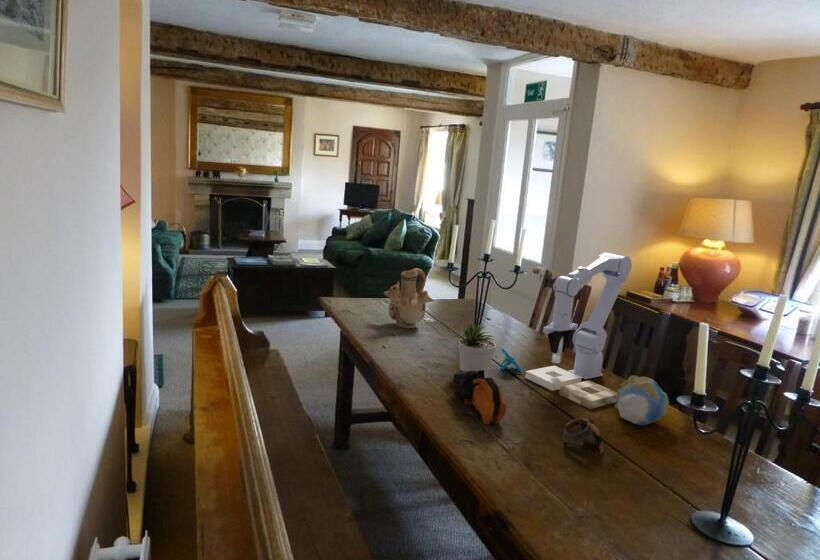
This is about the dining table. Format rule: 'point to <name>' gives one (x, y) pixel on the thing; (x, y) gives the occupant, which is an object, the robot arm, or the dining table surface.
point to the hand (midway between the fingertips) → (557, 352)
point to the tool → (481, 394)
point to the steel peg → (557, 357)
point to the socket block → (552, 377)
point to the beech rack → (588, 394)
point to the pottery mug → (583, 432)
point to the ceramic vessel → (408, 299)
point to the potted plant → (475, 350)
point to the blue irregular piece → (508, 361)
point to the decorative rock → (641, 400)
